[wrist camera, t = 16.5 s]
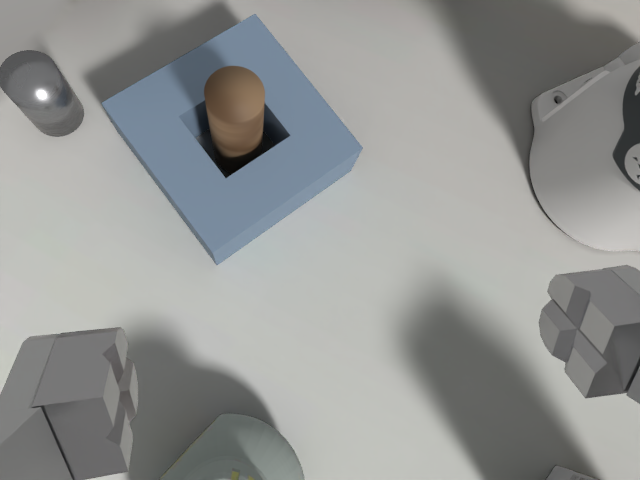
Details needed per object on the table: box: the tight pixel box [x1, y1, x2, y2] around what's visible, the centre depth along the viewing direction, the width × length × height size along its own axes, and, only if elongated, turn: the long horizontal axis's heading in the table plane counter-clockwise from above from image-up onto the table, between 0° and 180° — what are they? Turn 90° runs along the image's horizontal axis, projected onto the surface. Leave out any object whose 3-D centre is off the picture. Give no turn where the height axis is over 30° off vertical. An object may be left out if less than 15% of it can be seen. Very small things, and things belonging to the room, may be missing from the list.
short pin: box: [0, 50, 84, 137], centre depth 40 cm, size 4×4×6 cm
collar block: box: [101, 14, 363, 265], centre depth 42 cm, size 14×14×5 cm
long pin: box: [204, 66, 265, 173], centre depth 39 cm, size 4×4×10 cm
